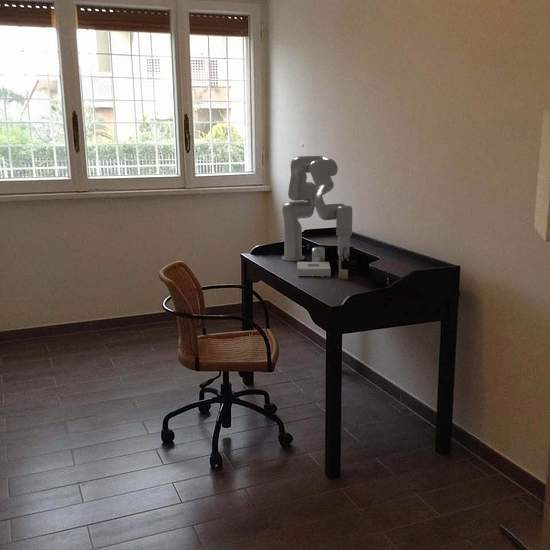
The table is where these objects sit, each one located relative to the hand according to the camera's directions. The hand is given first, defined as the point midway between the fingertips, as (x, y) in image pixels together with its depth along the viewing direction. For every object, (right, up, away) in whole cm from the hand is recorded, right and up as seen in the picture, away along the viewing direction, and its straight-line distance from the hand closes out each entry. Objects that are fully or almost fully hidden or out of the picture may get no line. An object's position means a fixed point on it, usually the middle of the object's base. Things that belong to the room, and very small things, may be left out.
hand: (343, 267), depth 304 cm
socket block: (-14, -3, +12) cm, 18 cm away
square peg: (0, -5, +2) cm, 5 cm away
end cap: (+3, -3, +14) cm, 14 cm away
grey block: (-11, 0, +25) cm, 27 cm away
